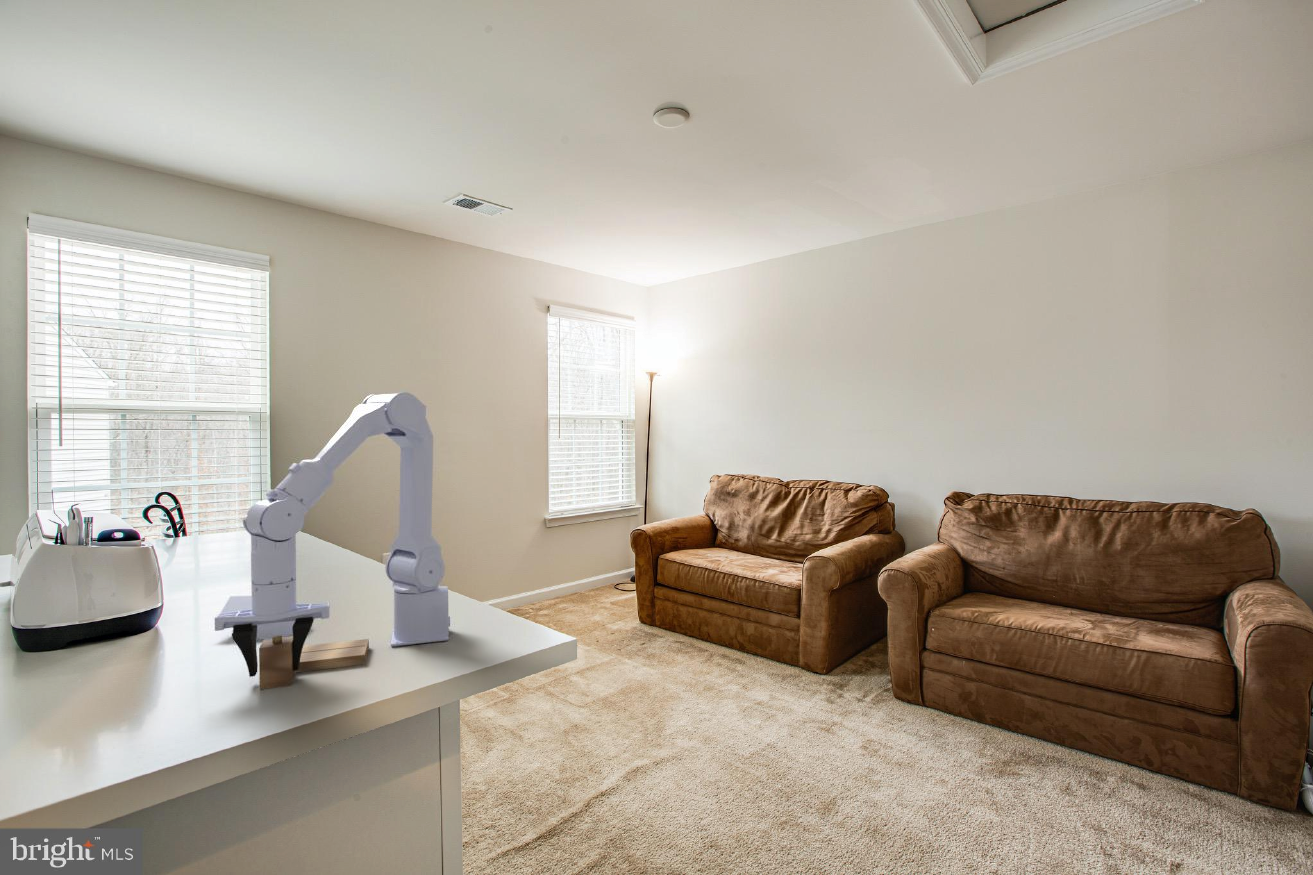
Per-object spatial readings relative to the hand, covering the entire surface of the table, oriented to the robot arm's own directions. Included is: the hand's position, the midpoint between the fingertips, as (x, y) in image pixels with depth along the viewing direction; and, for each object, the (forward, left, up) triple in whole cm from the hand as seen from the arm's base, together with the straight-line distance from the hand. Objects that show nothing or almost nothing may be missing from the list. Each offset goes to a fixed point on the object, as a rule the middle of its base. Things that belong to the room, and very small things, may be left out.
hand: (275, 671), depth 93 cm
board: (-5, -7, -1) cm, 8 cm away
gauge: (0, -2, -1) cm, 2 cm away
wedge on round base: (+6, -27, -2) cm, 28 cm away
